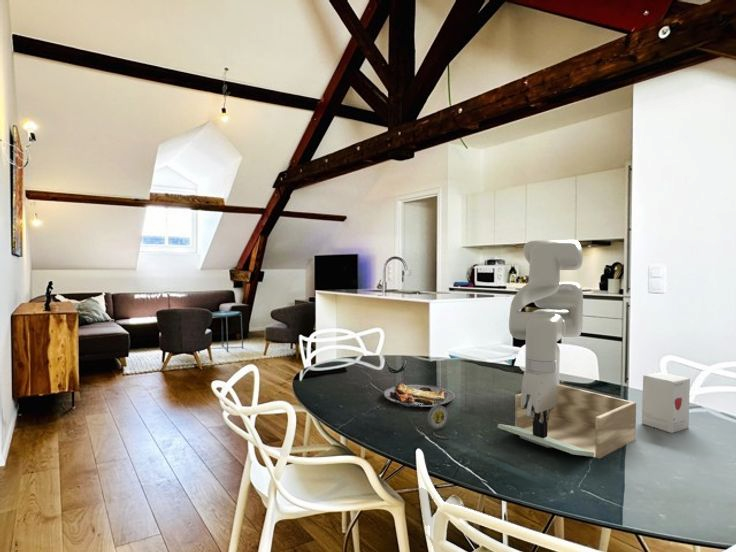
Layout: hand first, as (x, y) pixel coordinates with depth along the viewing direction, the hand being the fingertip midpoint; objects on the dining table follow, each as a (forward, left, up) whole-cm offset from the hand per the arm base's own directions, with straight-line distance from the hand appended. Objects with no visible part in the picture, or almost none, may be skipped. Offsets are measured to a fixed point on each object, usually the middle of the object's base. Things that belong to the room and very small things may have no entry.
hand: (539, 435), depth 118 cm
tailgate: (0, +6, -3) cm, 7 cm away
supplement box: (+12, +46, -5) cm, 48 cm away
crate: (0, +16, -4) cm, 17 cm away
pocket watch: (-24, -11, -5) cm, 26 cm away
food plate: (-52, +6, -5) cm, 53 cm away
